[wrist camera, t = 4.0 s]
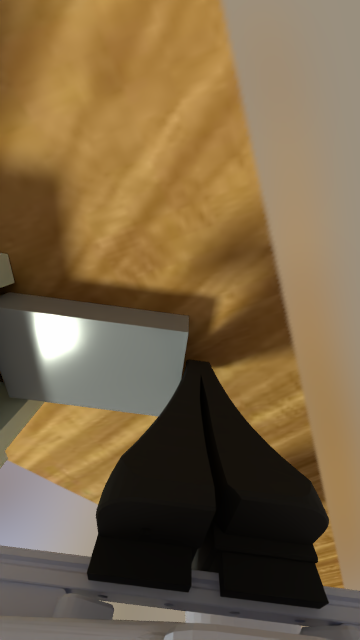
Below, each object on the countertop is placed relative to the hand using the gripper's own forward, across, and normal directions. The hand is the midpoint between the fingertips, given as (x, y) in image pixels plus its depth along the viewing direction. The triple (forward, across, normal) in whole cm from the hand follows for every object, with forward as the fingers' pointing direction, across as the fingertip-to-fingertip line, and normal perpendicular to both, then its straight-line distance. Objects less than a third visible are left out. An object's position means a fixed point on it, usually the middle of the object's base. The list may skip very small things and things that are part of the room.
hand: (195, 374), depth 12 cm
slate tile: (+2, +6, 0) cm, 6 cm away
